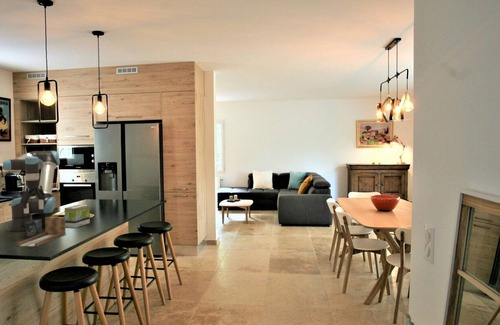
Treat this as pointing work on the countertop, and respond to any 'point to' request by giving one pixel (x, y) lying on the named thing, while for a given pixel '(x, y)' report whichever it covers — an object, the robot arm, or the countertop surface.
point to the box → (33, 227)
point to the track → (47, 232)
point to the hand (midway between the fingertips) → (34, 211)
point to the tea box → (77, 216)
